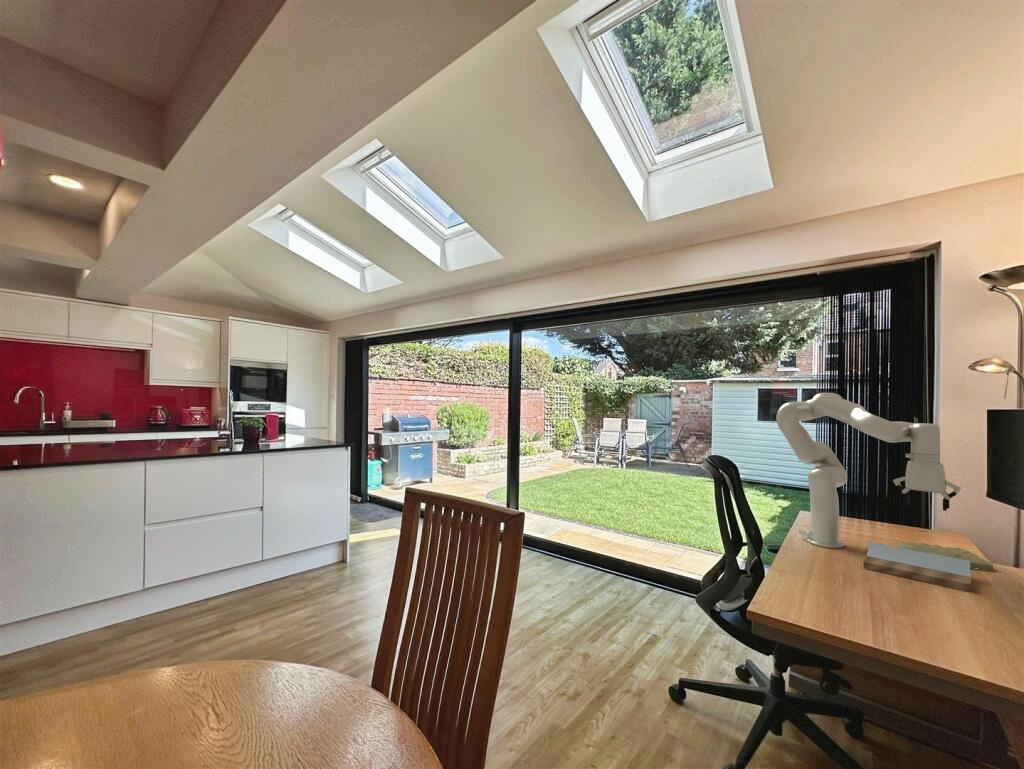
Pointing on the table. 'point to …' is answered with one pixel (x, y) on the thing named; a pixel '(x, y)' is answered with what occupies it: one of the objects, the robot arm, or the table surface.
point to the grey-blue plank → (920, 559)
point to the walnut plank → (919, 573)
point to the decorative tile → (949, 553)
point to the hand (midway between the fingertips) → (925, 507)
